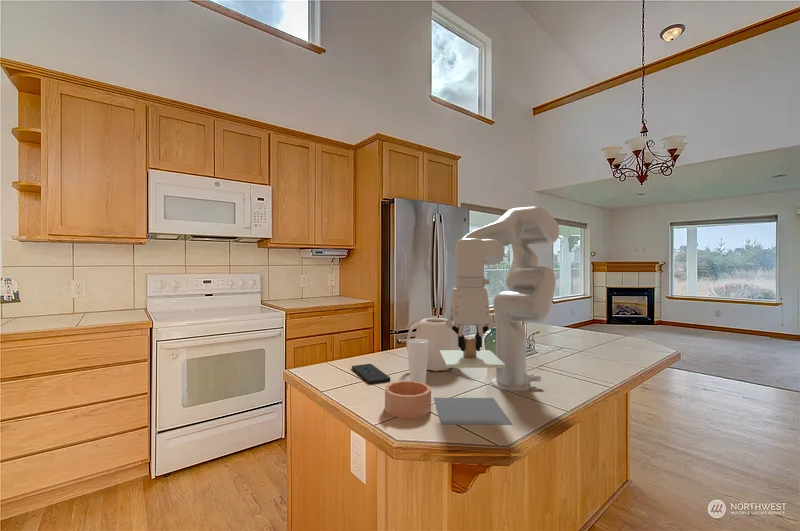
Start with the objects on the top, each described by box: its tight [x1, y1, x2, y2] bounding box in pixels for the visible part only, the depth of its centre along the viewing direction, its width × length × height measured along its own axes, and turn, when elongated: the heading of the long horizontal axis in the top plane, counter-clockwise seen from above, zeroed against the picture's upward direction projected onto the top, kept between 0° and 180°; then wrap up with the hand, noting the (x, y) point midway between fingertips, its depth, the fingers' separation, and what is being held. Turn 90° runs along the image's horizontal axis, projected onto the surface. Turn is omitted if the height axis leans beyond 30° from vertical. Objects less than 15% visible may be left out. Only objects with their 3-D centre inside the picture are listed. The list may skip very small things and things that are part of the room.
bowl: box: [384, 380, 432, 419], centre depth 100 cm, size 13×13×6 cm
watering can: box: [405, 317, 468, 372], centre depth 141 cm, size 16×27×19 cm, turn 105°
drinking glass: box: [407, 338, 428, 384], centre depth 120 cm, size 7×7×15 cm
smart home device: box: [351, 363, 391, 385], centre depth 131 cm, size 8×2×20 cm
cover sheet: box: [439, 336, 505, 369], centre depth 99 cm, size 15×15×6 cm
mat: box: [433, 397, 513, 426], centre depth 99 cm, size 18×18×1 cm
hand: (469, 349), depth 99 cm, fingers closed on cover sheet, 3 cm apart
